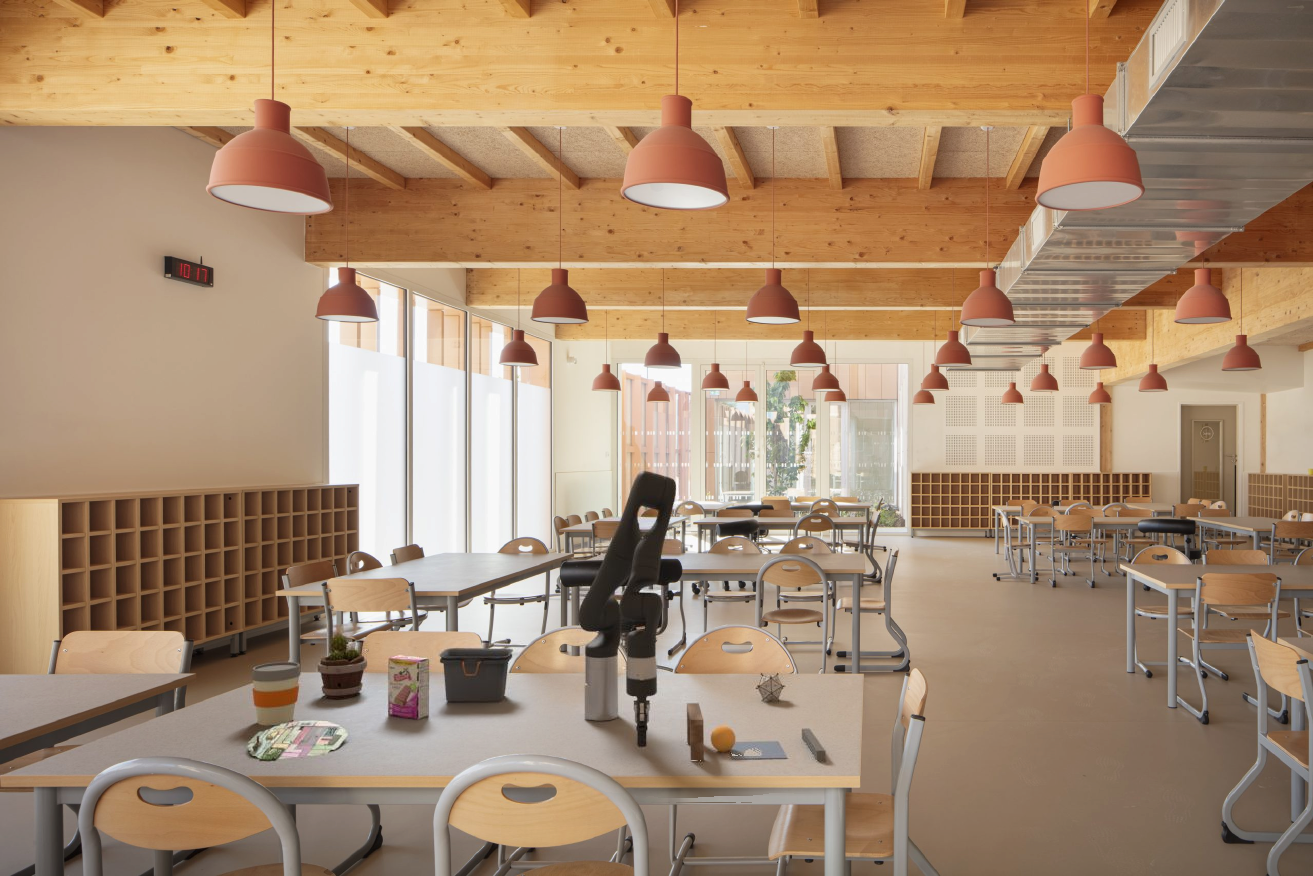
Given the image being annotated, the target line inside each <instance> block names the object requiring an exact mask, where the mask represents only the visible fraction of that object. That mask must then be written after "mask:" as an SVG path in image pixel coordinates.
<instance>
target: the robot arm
mask: <svg viewBox="0 0 1313 876" xmlns="http://www.w3.org/2000/svg"><path fill="white" fill-rule="evenodd" d="M676 492H677V483H676V481H675V479H674V478H672V477H669V476H666V475H662V474H658V473H656V472H651V471H648V470H642V471H640V472H638V474H636V477H635V479H634V481H633V484H632V486H631V487H630V492H629V494H628V498H627V501H626V504H625V506H624V510H623V512H622V515H621V518H620V520H619V522H618V525H617V528H616V530H615V532H614V533H613V536H612V539H611V540H610V543H609V545H608V548H607V550H606V552H605V555H604V557H603V560H602V563H601V565H600V567H599V569H598V570H597V574H596V576H595V578H594V580H593V582H592V584H591V586H590V587H589V589H588V591H587V592H586V595H585V597H584V598H583V600H582V602H581V604H580V607H579V610H578V623H579V625H580V628H581V629H582V630H584V631H585V632H590V633H591V632H592V633H593V632H594V633H595V632H597V635H596V636H595V637H594V638H593V639H592V640H591V641H589V642H588V643H587V644H586V645H585V648H584V657H585V658H584V663H585V664H584V666H585V667H584V683H585V684H584V720H589V721H599V722H600V721H604V722H605V721H611V720H614V719H617V718H618V717H619V658H618V657H619V647H620V644H621V633H622V632H621V629H622V619H623V620H625V621H627V622H646V625H645V627H644V628H643V629H637V630H633V631H630V632H629V633H628V634H627V638H626V647H627V648H626V664H625V673H626V674H625V678H626V680H625V683H626V685H625V686H626V687H625V688H626V689H625V691H626V694H627V695H628V696H630V697H635V698H636V700H633V712H634V722H635V723H636V727H635V728H636V729H635V730H636V732H637V733H636V735H637V739H636V740H637V742H636V743H637V747H639V748H645V747H647V745H648V744H647V742H648V741H647V731H648V723H649V722H650V710H651V703H650V701H651V700H649V699H647V698H648V697H652V696H653V697H654V696H655V695H656V694H657V693H658V673H657V672H658V671H657V670H658V666H657V665H658V664H657V658H656V655H657V653H656V639H657V632H658V627H659V623H660V620H661V616H662V611H663V609H664V607H663V605H664V604H663V600H662V597H661V596H660V595H659V594H658V593H656V592H642V591H641V590H643V589H644V588H647V587H651V586H655V585H657V584H658V582H659V579H660V570H661V564H662V563H661V562H662V554H663V548H664V544H665V540H666V536H667V531H668V528H669V524H670V520H671V517H672V512H673V509H674V505H675V504H674V503H675V500H676V496H677V495H676V494H677V493H676ZM641 507H643V508H644V507H645V508H647V509H652V510H656V511H657V515H656V516H657V517H656V519H655V522H654V523H653V525H652V526H651V528H650V529H649V530H648V531H646V533H645V534H644V535H643V536H642V533H641V530H640V525H639V516H638V515H639V511H640V508H641ZM627 580H628V581H627ZM626 581H627V584H626V586H625V589H624V591H623V593H622V595H621V598H620V601H618V600H617V599H616V598H615V597H613V596H612V595H613V593H615V591H617V590H618V589H619V588H620V587H621V586H622V585H623V584H624V583H626Z"/></svg>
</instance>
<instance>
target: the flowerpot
mask: <svg viewBox="0 0 1313 876" xmlns="http://www.w3.org/2000/svg"><path fill="white" fill-rule="evenodd" d="M331 636H332V637H331V638H330V644H329V649H330V653H329V654H330V655H328V656H324V657H321V659H320V661H319V662H318V663H317V667H316V668H317V672H319V673H320V677H321V680H322V684H323V685H321V691H322V693H323V695H324V696H325V698H326V699H334V700H341V699H343V700H344V699H347V698H352V697H354V696H358V695H359V694H360V692H361V691H362V688H363V682H362V679H363V676H364V670H365V669H366V668H368V667H367V666H368V660H367V659H366V658H365V656H363V655H362V654H361V653H360V651H358V649H357V648H355V647H354V646H352V645H350V646H349V640H348V636H347V635H343V632H342V631H336V633H335V632H333V635H331Z"/></svg>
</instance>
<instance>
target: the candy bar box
mask: <svg viewBox="0 0 1313 876" xmlns="http://www.w3.org/2000/svg"><path fill="white" fill-rule="evenodd" d="M387 680H388V681H387V682H388V685H387V687H388V690H387V691H388V695H387V698H388V699H387V700H388V701H387V702H388V703H387V708H388V709H387V712H388V713H387V715H388V716H393V717H400V718H404V719H405V718H407V719H413V720H421V719H423V718H427V717H428V716H429V715H430V658H429V657H420V656H412V655H403V654H398V655H395V656H394V655H393V656H390V657H388V678H387Z"/></svg>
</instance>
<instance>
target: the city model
mask: <svg viewBox="0 0 1313 876" xmlns="http://www.w3.org/2000/svg"><path fill="white" fill-rule="evenodd" d="M347 731H348V729H346V728H343V727H341V725H339V724H338V723H336V724H335V723H333V722H330V721H324V720H299V721H291V722H287V723H284V724H279V725H274V726H273V727H271V728H269V729H265V730H263V731H258V732H257V733H256V734H255V735H254V736H253V737H252V738H251V739H250V740H249V741H248V742H247V743H248V745H247V748H248V751H250V752H249V754H251V756H254V757H256V758H258V761H263V762H264V761H273V760H275V761H277V760H282V759H291V758H301V757H302V758H303V757H312V756H321V755H328V753H329V752H331V750H332V751H333V750H334V751H335V750H336V749H339V747H340V746H341V745H342V743H343V742H344V740H345V739H346V738H347V736H348V735H349V733H348V732H347Z"/></svg>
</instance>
